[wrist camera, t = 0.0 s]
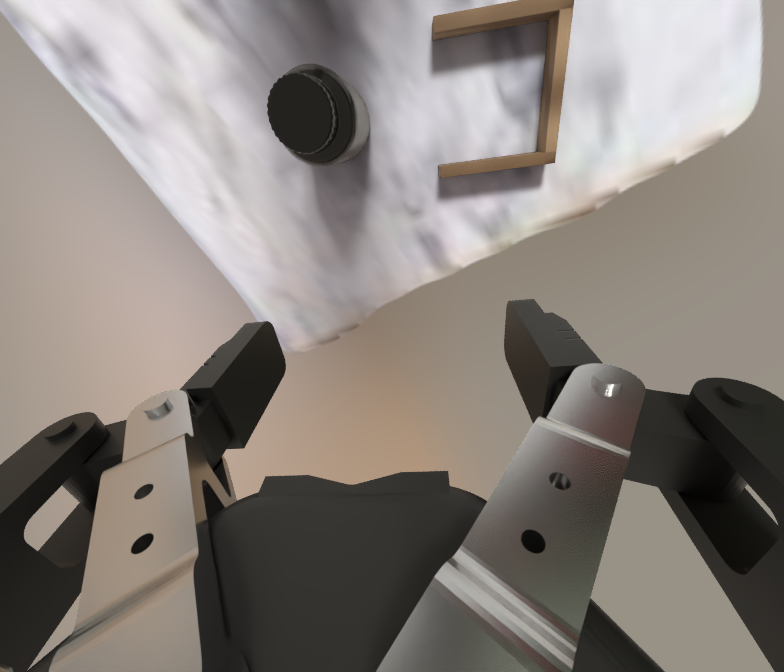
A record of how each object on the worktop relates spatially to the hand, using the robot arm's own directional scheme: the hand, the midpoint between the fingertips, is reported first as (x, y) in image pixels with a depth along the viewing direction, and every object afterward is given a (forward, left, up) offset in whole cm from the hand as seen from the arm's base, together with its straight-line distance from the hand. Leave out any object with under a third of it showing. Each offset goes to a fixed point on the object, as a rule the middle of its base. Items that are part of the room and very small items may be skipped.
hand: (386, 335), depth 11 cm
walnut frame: (-8, +9, -29) cm, 32 cm away
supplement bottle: (-8, -6, -30) cm, 31 cm away
